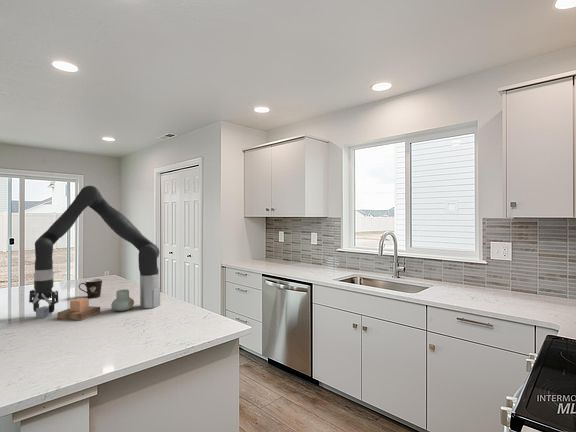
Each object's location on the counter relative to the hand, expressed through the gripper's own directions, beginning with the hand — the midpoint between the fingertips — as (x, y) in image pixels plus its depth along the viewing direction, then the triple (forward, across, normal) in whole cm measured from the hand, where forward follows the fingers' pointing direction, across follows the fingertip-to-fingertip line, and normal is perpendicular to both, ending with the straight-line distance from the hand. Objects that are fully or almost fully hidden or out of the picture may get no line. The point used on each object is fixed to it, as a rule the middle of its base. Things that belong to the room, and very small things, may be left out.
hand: (43, 311), depth 159 cm
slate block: (+2, 0, 0) cm, 2 cm away
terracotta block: (-1, -16, -4) cm, 17 cm away
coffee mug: (+2, +6, -37) cm, 37 cm away
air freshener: (+2, -30, -17) cm, 35 cm away
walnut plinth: (+2, -16, -4) cm, 17 cm away
